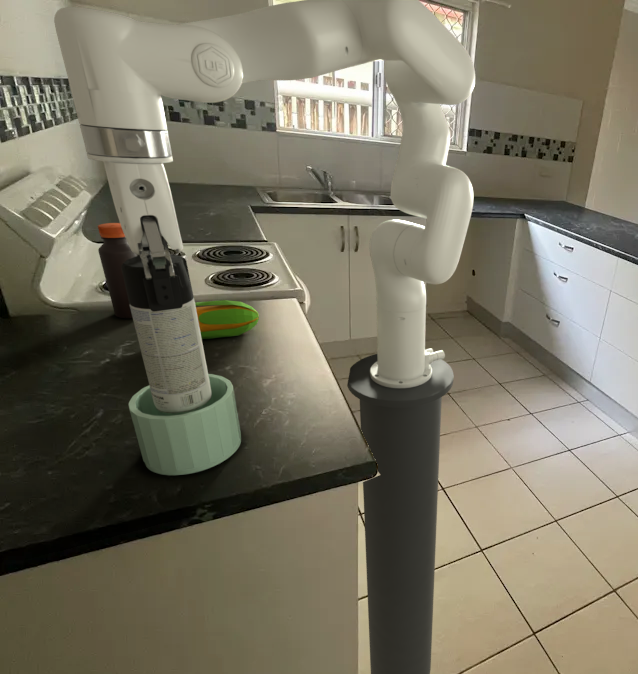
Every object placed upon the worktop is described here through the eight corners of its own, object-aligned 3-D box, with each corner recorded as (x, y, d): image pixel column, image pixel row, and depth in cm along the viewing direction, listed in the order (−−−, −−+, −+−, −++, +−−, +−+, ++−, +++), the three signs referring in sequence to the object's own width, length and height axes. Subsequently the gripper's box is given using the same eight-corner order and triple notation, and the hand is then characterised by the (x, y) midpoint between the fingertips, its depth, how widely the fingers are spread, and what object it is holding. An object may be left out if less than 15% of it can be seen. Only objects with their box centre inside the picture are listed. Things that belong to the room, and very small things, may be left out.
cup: (230, 416, 76) (222, 366, 72) (250, 455, 68) (242, 401, 64) (139, 440, 68) (124, 386, 65) (149, 487, 60) (133, 429, 57)
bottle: (156, 314, 108) (136, 227, 100) (119, 321, 103) (95, 229, 95) (147, 306, 112) (127, 221, 104) (111, 312, 107) (88, 223, 99)
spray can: (219, 388, 69) (195, 253, 61) (202, 414, 63) (173, 268, 55) (167, 390, 67) (135, 251, 59) (145, 416, 61) (106, 266, 53)
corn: (256, 303, 99) (139, 311, 91) (260, 337, 102) (147, 347, 93) (256, 294, 105) (146, 300, 97) (260, 326, 108) (154, 335, 99)
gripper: (183, 155, 48) (211, 317, 55) (159, 141, 60) (185, 276, 67) (87, 151, 44) (131, 329, 51) (81, 137, 55) (118, 283, 62)
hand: (162, 298), depth 59 cm, fingers closed on spray can, 6 cm apart
